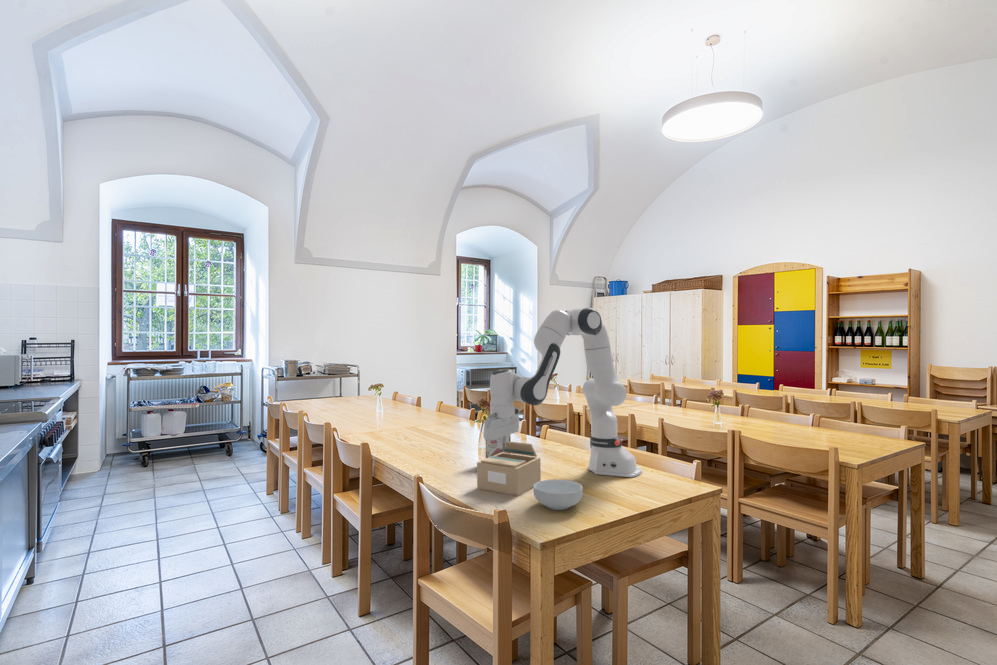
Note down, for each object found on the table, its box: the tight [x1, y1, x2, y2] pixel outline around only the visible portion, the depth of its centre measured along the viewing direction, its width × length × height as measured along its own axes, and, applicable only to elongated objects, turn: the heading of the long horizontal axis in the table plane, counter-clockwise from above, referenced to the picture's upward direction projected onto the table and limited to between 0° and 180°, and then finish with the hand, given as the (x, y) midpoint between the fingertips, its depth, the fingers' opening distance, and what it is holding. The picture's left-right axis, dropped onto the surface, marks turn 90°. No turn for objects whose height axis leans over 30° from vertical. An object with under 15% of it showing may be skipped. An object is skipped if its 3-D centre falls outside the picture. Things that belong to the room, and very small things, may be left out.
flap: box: [480, 456, 526, 467], centre depth 191 cm, size 15×8×1 cm, turn 58°
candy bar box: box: [485, 434, 512, 459], centre depth 226 cm, size 11×5×16 cm, turn 84°
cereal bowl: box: [532, 478, 584, 511], centre depth 172 cm, size 17×17×7 cm
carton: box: [476, 452, 542, 497], centre depth 195 cm, size 18×18×10 cm
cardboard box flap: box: [502, 441, 538, 457], centre depth 200 cm, size 15×7×1 cm
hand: (501, 447), depth 191 cm, fingers closed
